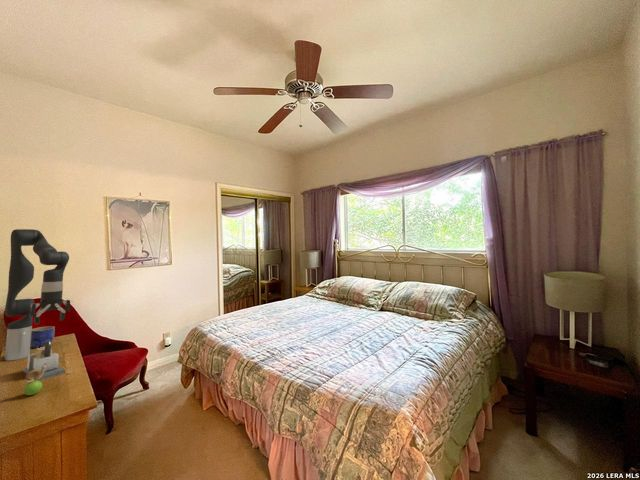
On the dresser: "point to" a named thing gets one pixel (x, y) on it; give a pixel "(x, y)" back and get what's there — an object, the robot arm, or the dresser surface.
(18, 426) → the dresser surface
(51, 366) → the free jaw
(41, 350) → the brass block
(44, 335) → the planter
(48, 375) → the vise
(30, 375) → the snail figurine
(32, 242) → the robot arm
